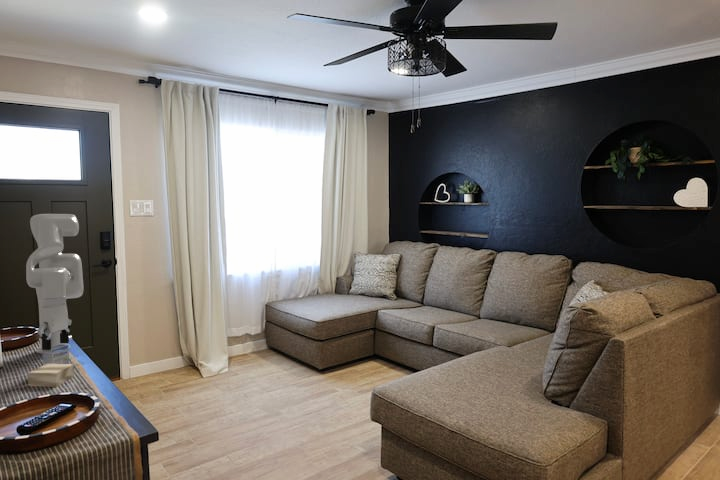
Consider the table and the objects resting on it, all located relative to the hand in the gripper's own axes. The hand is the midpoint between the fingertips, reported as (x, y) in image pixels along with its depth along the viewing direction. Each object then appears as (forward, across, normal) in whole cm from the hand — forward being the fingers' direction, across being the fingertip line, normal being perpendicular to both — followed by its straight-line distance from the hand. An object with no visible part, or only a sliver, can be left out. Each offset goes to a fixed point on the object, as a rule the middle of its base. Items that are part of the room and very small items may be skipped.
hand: (55, 346), depth 182 cm
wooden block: (+10, +11, +6) cm, 16 cm away
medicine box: (+9, -1, -1) cm, 9 cm away
